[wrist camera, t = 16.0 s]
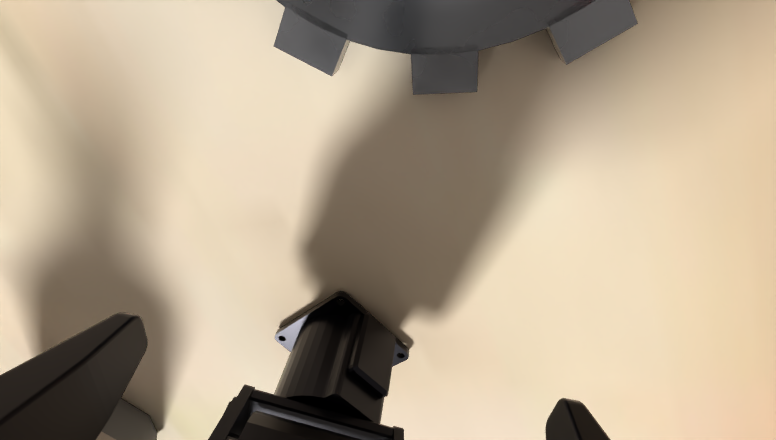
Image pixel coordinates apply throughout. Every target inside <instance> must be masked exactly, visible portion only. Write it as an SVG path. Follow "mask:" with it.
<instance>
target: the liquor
mask: <svg viewBox="0 0 776 440" xmlns="http://www.w3.org/2000/svg"><path fill="white" fill-rule="evenodd" d="M96 440H157V431H156V429H155V427H154V425H153V423H152V420H151V418H150V416H149V415H147V414H146V413H144V412H142V411H141V410H139V409H137V408H136V407H134V406H132V405H131V404H129V403H127V402H126V401H124V400H122V399H121V398H120V400H119V402H118V404H117V406H116V408H115V410H114V411H113V413H112V415H111V417H110V418H109V420H108V422H107V423H106V425H105V426H104V428H103V430H102V431H101V433H100V434H99V436H98V437H97V439H96Z"/></svg>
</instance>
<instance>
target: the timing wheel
mask: <svg viewBox="0 0 776 440" xmlns="http://www.w3.org/2000/svg"><path fill="white" fill-rule="evenodd" d="M277 1H278V2H279V3H281V4H282V5H283V6H284V7H285V10H284V13H283V17H282V20H281V23H280V27H279V30H278V33H277V37H276V40H275V43H274V47H276V48H278V49H280V50H282V51H284V52H286V53H288V54H290V55H292V56H293V57H295V58H297V59H299V60H301V61H303V62H305V63H307V64H309V65H311V66H313V67H315V68H317V69H319V70H321V71H322V72H324V73H326V74H328V75H330V76H333V75H334V74H335V73H336V72H337V71H338V70H339V67H340V65H341V62H342V60H343V57H344V55H345V52H346V50H347V47H348V45H349V42H350V41H352V42H356V43H359V44H362V45H366V46H369V47H372V48H376V49H380V50H387V51H393V52H400V53H406V54H411V63H412V85H413V95H415V94H438V93H462V92H477V77H478V50H482V49H486V48H490V47H493V46H497V45H501V44H505V43H509V42H513V41H515V40H518V39H520V38H523V37H525V36H528V35H530V34H533V33H535V32H538V31H540V30H543V29H545V28H546V30H547V32H548V34H549V36H550V38H551V40H552V43H553V45H554V47H555V49H556V51H557V53H558V56H559V58H560V59H561V60H562V61H563V62H564V63H565V64H566V65H567V64H568V63H570V62H572V61H574V60H575V59H577V58H579V57H581V56H582V55H584V54H586V53H587V52H589V51H591V50H593V49H594V48H596V47H598V46H600V45H601V44H603V43H605V42H607V41H608V40H610V39H612V38H613V37H615V36H617V35H619V34H620V33H622V32H624V31H626V30H627V29H629V28H631V27H633V26H634V25H636V24H638V23H637V20H636V18H635V15H634V12H633V10H632V7H631V4H630V1H629V0H277Z"/></svg>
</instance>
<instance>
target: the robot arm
mask: <svg viewBox="0 0 776 440" xmlns="http://www.w3.org/2000/svg"><path fill="white" fill-rule="evenodd" d="M339 299H342V300H344V301H341V300H339ZM275 339H276V341H277V342H279V343H280V344H281V345H282V346H284V347H285V348H286V349H288V350H289V351H290V352H291V353H290V356H289V358H288V361H287V363H286V366H285V368H284V370H283V373H282V375H281V378H280V380H279V383H278V385H277V388H276V390H275V393H274V394H270V393H267V392H263V391H259V390H256V389H255V387H252V386H248V385H244V386H243V388H242V390H241V391H240V393H239V395H238V396H237V397H234V398H233V400H232V401H231V402H229V404H228V406H227V408H226V410H225V412H224V414H223V416H222V418H221V419H220V421H219V423H218V424H217V426H216V428H215V429H214V431H213V432H212V434H211V436H210V437H209V439H208V440H404V429H403V428H400V427H396V426H393V427H389V426H385V425H382V424H380V421H381V415H382V408H383V402H384V397H385V396H387V395H388V391H389V384H390V378H391V371H392V367H393V366H395V365H397V364H399V363H401V362H403V361H405V360H407V359H408V357H409V349H408V348H407V347H406V346H405V345H404V344H403V343H402V342H400V341H399V340H398V339H397V338H396V337H395V336H394V335H393V334H392V333H390V332H389V331H388V330H387V329H386V328H385V327H384V326H383V325H382V324H381V323H379V322H378V321H377V320H376V319H375V318H374V317H373V316H372V315H371V314H369V313H368V312H367V311H366V310H365V309H364V308H363V307H362V306H361V305H360V304H358V303H357V302H356V301H355V300H354V299H353V298H352V297H351V296H350V295H348V294H347V293H345V292H337V293H335V294H334V295H332V296H331V297H329V298H328V299H326V300H324V301H323V302H321V303H320V304H318V305H316V306H315V307H313V308H312V309H310V310H309V311H307V312H305V313H304V314H302V315H301V316H299V317H297V318H296V319H294V320H293V321H291V322H289V323H288V324H286V325H285V326H283V327H282V328H280V329H278V331H277V332H276V335H275ZM146 348H147V336H146V333H145V329H144V325H143V321H142V318H141V317H140V316H139V315H135V314H130V313H125V312H120V313H117V314H115V315H113V316H111V317H109V318H107V319H105V320H103V321H102V322H100V323H98V324H96V325H94V326H92V327H90V328H88V329H86V330H85V331H83V332H81V333H79V334H77V335H75V336H73V337H71V338H69V339H68V340H66V341H64V342H62V343H60V344H58V345H56V346H54V347H53V348H51V349H49V350H47V351H45V352H43V353H41V354H39V355H37V356H36V357H34V358H32V359H30V360H28V361H26V362H24V363H22V364H20V365H19V366H17V367H15V368H13V369H11V370H9V371H7V372H5V373H4V374H2V375H0V440H96V439H97V437H98V436H99V434H100V433H101V431H102V430H103V428H104V426H105V425H106V423H107V422H108V420H109V418H110V417H111V415H112V413H113V411H114V410H115V408H116V406H117V404H118V402H119V400H120V398H121V397H122V395H123V393H124V391H125V389H126V387H127V385H128V383H129V381H130V380H131V378H132V376H133V374H134V372H135V370H136V368H137V366H138V364H139V363H140V361H141V359H142V357H143V355H144V353H145V351H146ZM546 440H610V438H609V437H608V436H607V434H606V433H605V432H604V430H603V429H602V428H601V426H600V425H599V424H598V422H597V421H596V420H595V418H594V417H593V416H592V414H591V413H590V412H589V410H588V409H587V408H586V406H585V405H584V404H583V403H581V402H580V401H576V400H571V399H566V398H562V399H560V400H559V401H558V402H557V404H556V406H555V407H554V409H553V411H552V413H551V414H550V416H549V418H548V420H547V423H546Z"/></svg>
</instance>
